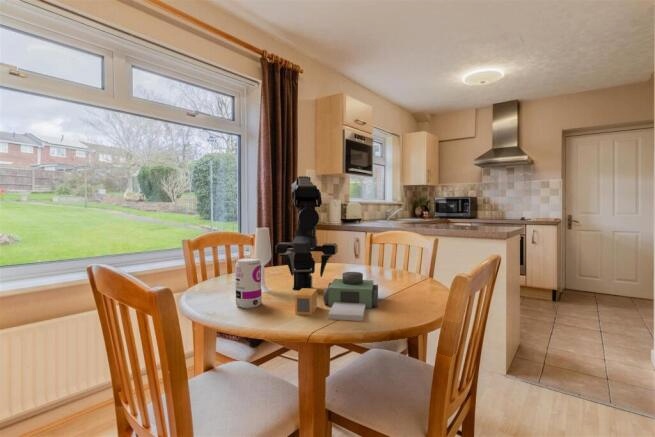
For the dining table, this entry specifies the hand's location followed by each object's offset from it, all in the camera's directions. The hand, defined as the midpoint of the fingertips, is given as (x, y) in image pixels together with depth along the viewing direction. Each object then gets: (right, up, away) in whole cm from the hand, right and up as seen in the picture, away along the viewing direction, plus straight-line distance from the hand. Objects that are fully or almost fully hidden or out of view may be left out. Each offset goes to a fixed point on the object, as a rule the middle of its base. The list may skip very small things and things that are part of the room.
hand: (306, 275), depth 104 cm
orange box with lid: (0, -11, +1) cm, 11 cm away
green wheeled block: (+14, -11, +4) cm, 18 cm away
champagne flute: (-18, -10, +24) cm, 32 cm away
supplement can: (-19, -11, +6) cm, 23 cm away
